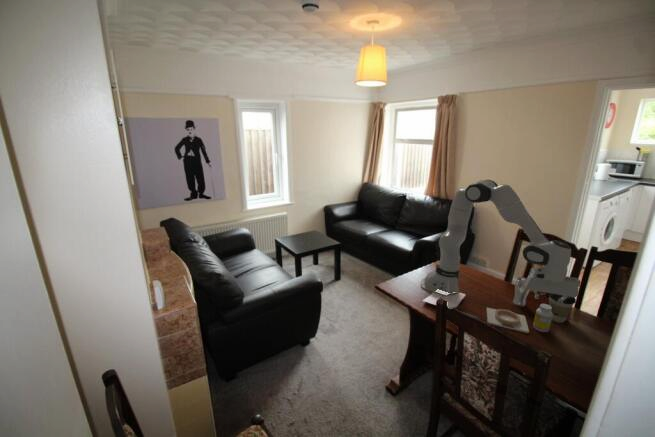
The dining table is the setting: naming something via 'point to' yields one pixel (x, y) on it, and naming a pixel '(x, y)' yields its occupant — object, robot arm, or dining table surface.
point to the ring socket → (507, 319)
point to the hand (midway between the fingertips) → (548, 300)
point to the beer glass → (520, 291)
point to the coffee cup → (560, 307)
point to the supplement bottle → (543, 318)
